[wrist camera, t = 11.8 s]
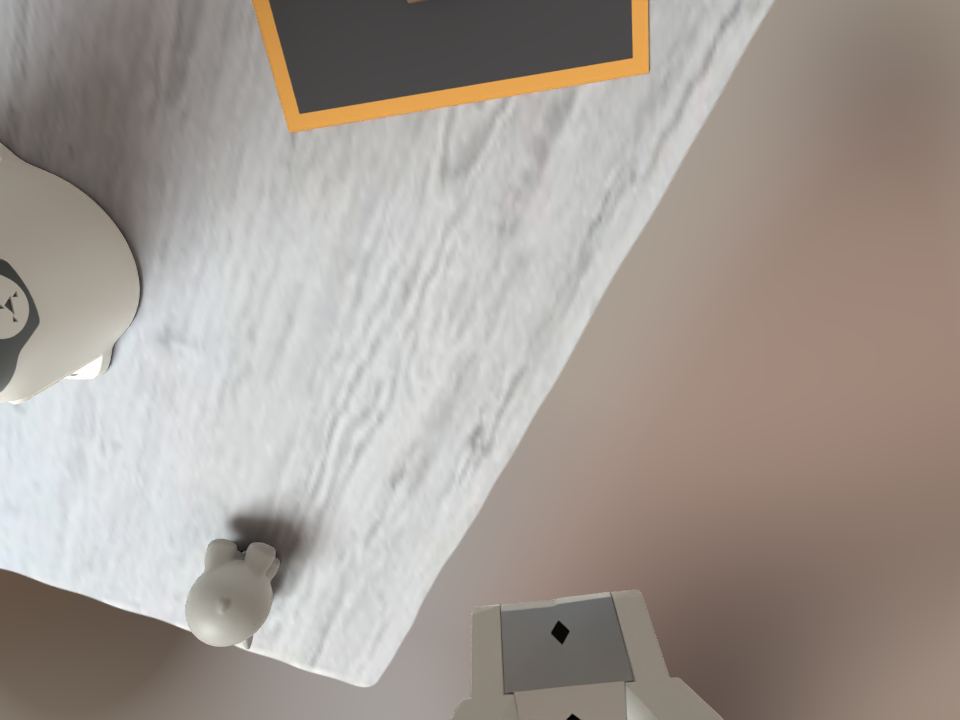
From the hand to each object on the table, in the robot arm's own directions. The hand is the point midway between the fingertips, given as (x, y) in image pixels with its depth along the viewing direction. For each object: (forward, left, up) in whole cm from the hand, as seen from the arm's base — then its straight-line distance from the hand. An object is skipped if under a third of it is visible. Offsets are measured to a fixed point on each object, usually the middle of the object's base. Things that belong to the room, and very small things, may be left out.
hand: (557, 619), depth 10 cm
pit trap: (-1, +12, -33) cm, 35 cm away
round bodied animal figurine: (-29, -31, -33) cm, 54 cm away
